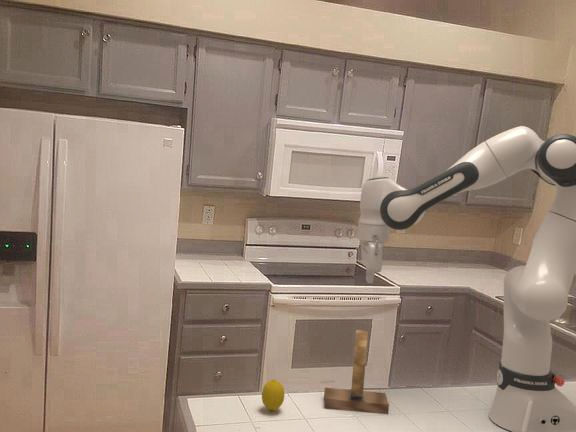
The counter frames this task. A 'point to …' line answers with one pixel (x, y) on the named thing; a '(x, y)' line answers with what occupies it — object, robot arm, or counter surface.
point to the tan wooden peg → (359, 363)
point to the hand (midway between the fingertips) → (369, 282)
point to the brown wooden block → (355, 401)
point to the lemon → (273, 394)
